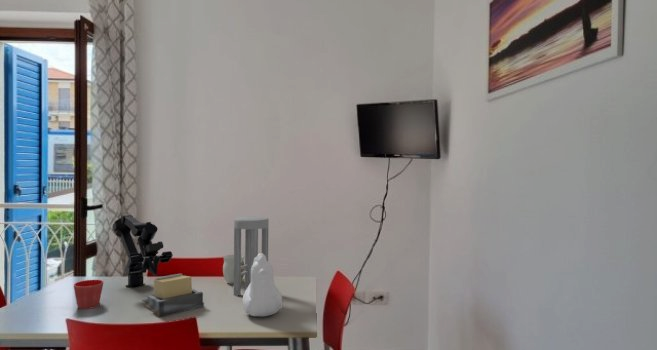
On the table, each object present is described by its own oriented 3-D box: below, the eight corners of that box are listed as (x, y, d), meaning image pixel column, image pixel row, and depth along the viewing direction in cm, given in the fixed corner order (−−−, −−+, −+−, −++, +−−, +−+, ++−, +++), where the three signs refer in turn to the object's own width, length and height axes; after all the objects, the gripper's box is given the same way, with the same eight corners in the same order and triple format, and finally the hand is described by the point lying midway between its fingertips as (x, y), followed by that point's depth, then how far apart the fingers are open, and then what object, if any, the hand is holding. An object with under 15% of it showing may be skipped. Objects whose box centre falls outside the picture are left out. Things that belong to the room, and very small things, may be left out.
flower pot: (109, 303, 177) (109, 280, 177) (86, 311, 167) (87, 287, 167) (90, 300, 181) (90, 278, 181) (67, 308, 170) (67, 284, 170)
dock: (131, 302, 182) (131, 286, 182) (173, 293, 196) (173, 278, 195) (158, 319, 162) (158, 301, 162) (203, 308, 175) (203, 292, 175)
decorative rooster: (280, 322, 158) (281, 256, 158) (238, 322, 158) (239, 256, 157) (284, 301, 183) (284, 244, 183) (248, 301, 182) (248, 244, 182)
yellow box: (153, 301, 173) (153, 277, 173) (181, 295, 182) (181, 272, 182) (163, 307, 166) (164, 282, 166) (192, 300, 175) (192, 277, 175)
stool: (227, 295, 190) (227, 219, 189) (246, 287, 204) (246, 215, 204) (256, 300, 184) (257, 221, 183) (273, 290, 198) (274, 217, 198)
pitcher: (250, 277, 222) (250, 251, 222) (239, 287, 204) (239, 259, 204) (230, 276, 223) (230, 251, 223) (217, 286, 205) (217, 258, 205)
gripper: (130, 238, 183) (139, 268, 176) (171, 234, 197) (181, 261, 189) (123, 253, 189) (132, 282, 182) (164, 247, 202) (173, 275, 195)
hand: (155, 274), depth 187 cm, fingers closed
